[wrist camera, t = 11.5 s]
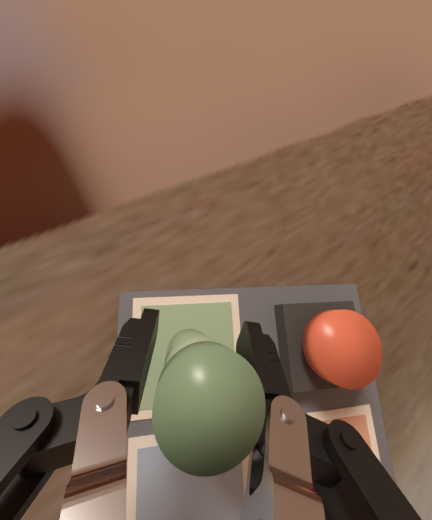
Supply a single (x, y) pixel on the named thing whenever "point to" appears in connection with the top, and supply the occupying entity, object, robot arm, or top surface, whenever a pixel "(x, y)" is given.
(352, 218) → the top surface
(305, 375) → the colouring board
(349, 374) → the button
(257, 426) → the green rounded rod
